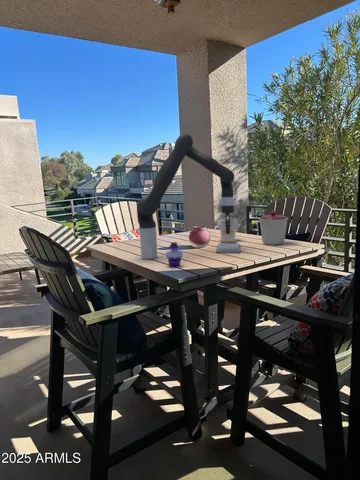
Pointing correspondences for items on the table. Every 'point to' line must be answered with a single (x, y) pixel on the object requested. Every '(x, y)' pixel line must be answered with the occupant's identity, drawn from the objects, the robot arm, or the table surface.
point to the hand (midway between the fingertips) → (228, 232)
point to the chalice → (224, 219)
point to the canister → (273, 228)
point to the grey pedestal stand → (228, 247)
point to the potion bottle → (174, 255)
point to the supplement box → (230, 236)
